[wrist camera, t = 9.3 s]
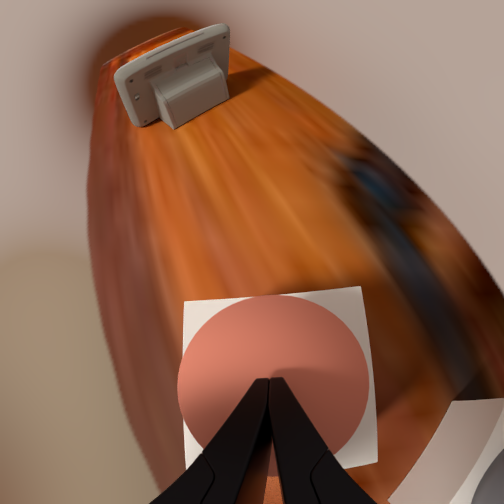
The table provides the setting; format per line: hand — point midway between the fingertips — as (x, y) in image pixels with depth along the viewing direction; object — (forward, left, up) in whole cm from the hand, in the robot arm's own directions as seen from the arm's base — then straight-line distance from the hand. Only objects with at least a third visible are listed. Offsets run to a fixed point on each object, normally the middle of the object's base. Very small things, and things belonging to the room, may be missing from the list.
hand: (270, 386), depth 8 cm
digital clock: (+22, +28, -12) cm, 38 cm away
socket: (0, -17, -11) cm, 20 cm away
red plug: (0, 0, -8) cm, 8 cm away
